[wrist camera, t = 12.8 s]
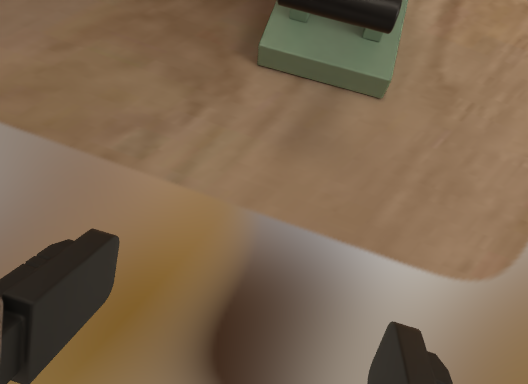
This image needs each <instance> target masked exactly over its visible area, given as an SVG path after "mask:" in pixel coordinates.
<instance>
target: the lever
mask: <svg viewBox="0 0 528 384" xmlns="http://www.w3.org/2000/svg"><path fill="white" fill-rule="evenodd" d="M277 2H278V5H280V6H283V7H287V8H291V9H295V10H299V11H302V12H306V13H310V14H314V15H317V16H321V17H325V18H329V19H333V20H336V21H340V22H344V23H348V24H352V25H355V26H359V27H363V28H367V29H371V30H374V31H378V32H382V33H386V34H390V33H391V32H392V30H393V28H394V26H395V23H396V21H397V18H398V15H399V12H400V9H401V5H402V0H277Z"/></svg>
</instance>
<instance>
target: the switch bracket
mask: <svg viewBox="0 0 528 384" xmlns="http://www.w3.org/2000/svg"><path fill="white" fill-rule="evenodd" d="M407 3H408V0H402V5H401V9H400V12H399V15H398V18H397V21H396V23H395V26H394V28H393V30H392V32H391V33H390V34H386V33H382V32H378V31H374V30H371V29H367V28H363V27H359V26H355V25H352V24H348V23H344V22H340V21H336V20H333V19H329V18H325V17H321V16H317V15H314V14H310V13H306V12H302V11H299V10H295V9H291V8H287V7H283V6H280V5H278V2H277V1H276V3H275V6H274V8H273V10H272V13H271V15H270V18H269V20H268V23H267V25H266V28H265V30H264V33H263V35H262V38H261V40H260V43H259V46H258V61H257V64H258V65H261V66H264V67H268V68H272V69H275V70H279V71H283V72H286V73H290V74H294V75H297V76H301V77H305V78H308V79H312V80H315V81H319V82H323V83H326V84H330V85H334V86H337V87H341V88H345V89H348V90H352V91H355V92H359V93H363V94H366V95H370V96H374V97H377V98H383V96H384V94H385V92H386V90H387V88H388V86H389V84H390V82H391V79H392V75H393V70H394V65H395V60H396V56H397V51H398V46H399V41H400V37H401V32H402V27H403V22H404V18H405V13H406V8H407Z"/></svg>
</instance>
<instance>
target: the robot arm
mask: <svg viewBox="0 0 528 384" xmlns="http://www.w3.org/2000/svg"><path fill="white" fill-rule="evenodd" d="M118 248H119V238H118V236H116V235H112V234H109V233H106V232H103V231H99V230H96V229H90V230H89V231H87V232H86V233H85V234H83V235H82V236H81V237H79V238H78V239H76V240H75V241H73V240H69V239H68V240H65V241H62V242H59V243H55V244H52V245H50V246H48V247H47V248H45V249H44V250H42V251H41V252H39V253H38V254H37V256H34V257H32V258H31V259H29V260H28V261H26V263H25V264H22V265H20V266H19V267H17V268H16V269H15V270H13V271H12V272H10V273H9V274H7V275H6V276H4V277H3V278H1V279H0V384H7V383H8V382H9V381H10V380H12V381H14V382H17V383H20V384H30V383H31V382H32V381H33V380H34V379H35V378H36V377H37V375H38V374H39V373H40V372H41V371H42V370H43V369H44V368H45V367H46V366H47V365H48V364H49V362H50V361H51V360H52V359H53V358H54V357H55V356H56V355H57V354H58V353H59V351H60V350H61V349H62V348H63V347H64V346H65V345H66V344H67V343H68V341H70V340H71V338H72V337H73V336H74V335H75V334H76V333H77V332H78V331H79V330H80V328H82V326H83V325H84V324H85V323H86V322H87V321H88V320H89V319H90V318H91V317H92V316H93V314H94V313H95V312H96V311H97V310H98V309H99V308H100V307H101V306H102V305H103V303H104V302H105V301H106V299H107V298H108V296H109V294H110V292H111V290H112V287H113V283H114V277H115V270H116V262H117V256H118ZM368 384H453V383H452V380H451V377H450V374H449V371H448V369H447V368H446V367H445V366H444V364H443V363H442V362H441V360H440V359H439V358H438V357H437V355H436V354H434V353H431V352H428V351H427V350H426V347H425V343H424V340H423V337H422V334H421V331H420V330H419V329H416V328H413V327H409V326H406V325H403V324H399V323H396V322H391V323H390V324H389V325H388V327H387V329H386V331H385V334H384V336H383V338H382V341H381V343H380V346H379V348H378V350H377V352H376V355H375V357H374V359H373V362H372V364H371V367H370V370H369V375H368Z"/></svg>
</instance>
